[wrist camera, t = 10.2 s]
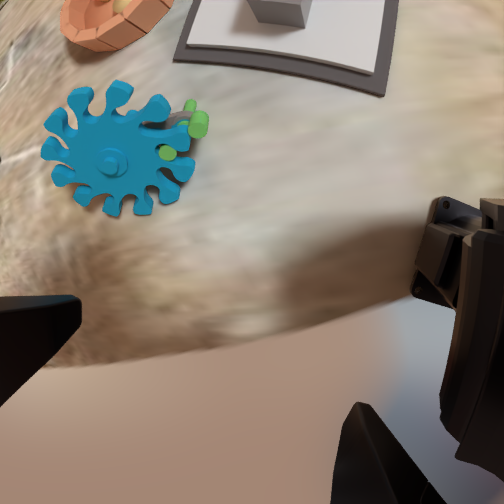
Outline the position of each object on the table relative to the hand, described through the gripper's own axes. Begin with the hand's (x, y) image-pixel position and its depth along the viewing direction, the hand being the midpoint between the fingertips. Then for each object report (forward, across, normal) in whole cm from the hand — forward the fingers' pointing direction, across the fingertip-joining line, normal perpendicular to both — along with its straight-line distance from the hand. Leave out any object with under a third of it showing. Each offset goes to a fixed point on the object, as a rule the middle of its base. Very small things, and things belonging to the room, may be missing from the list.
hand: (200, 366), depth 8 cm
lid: (+12, +3, -19) cm, 22 cm away
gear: (+12, +10, -5) cm, 17 cm away
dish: (+12, +17, -18) cm, 27 cm away
